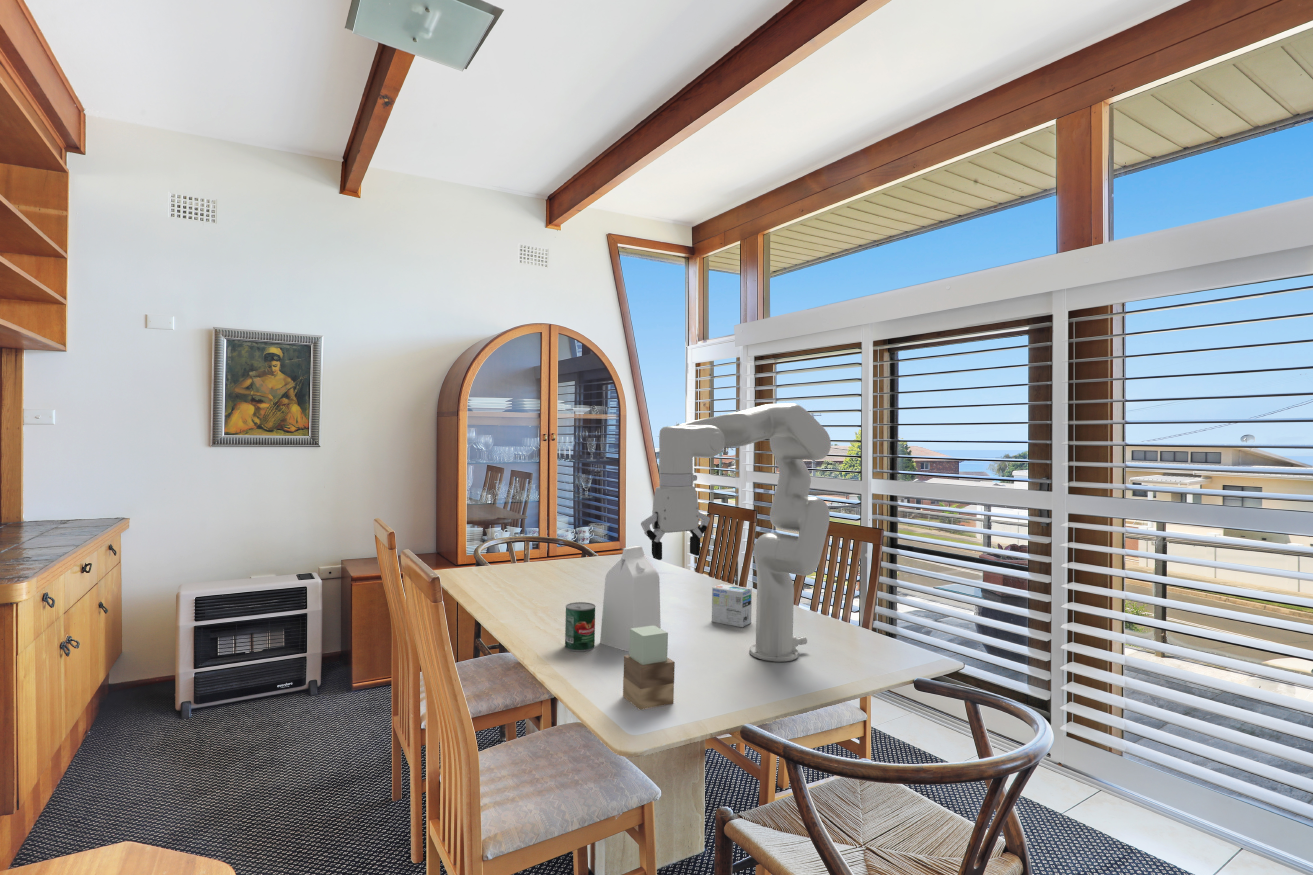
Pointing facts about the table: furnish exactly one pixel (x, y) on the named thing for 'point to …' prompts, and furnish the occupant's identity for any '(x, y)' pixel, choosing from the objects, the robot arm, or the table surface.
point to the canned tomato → (580, 626)
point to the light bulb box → (731, 605)
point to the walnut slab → (649, 673)
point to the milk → (629, 598)
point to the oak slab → (648, 695)
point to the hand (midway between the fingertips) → (676, 556)
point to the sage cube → (648, 644)
